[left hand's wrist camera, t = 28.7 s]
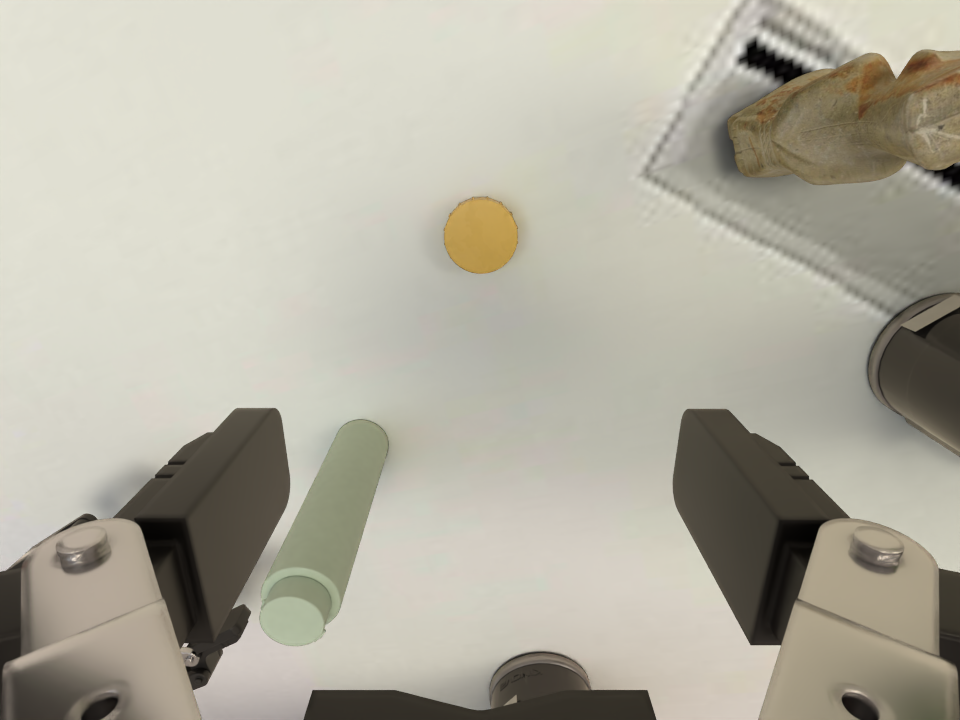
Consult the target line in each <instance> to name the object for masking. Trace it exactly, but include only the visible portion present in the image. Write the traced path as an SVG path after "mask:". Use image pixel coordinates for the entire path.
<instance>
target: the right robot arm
mask: <svg viewBox="0 0 960 720" xmlns="http://www.w3.org/2000/svg"><path fill="white" fill-rule="evenodd" d="M95 520H98V519H97V518H96V517H95V516H93V515H91V514H83V515H82V516H80V517H79V518H77V519H75V520H74V521H72V522H71V523H69V524H68V525H66V526H65V527H63V528H61V529H60V530H58V531H57V532H55V533H54V534H52V535H51V536H49V537H47V538H46V539H44V540H43V541H41V542H40V543H38V544H37V545H35V546H33V547H32V548H31V549H30V550H29V551H28V552H27V553H25V554H24V555H23V556H22V557H21V558H20V559H19V560H17V561H16V562H15V563H14V564H13V565H12V566H11V567H10V568H9V569H7V570H12V569H17V568H22V565H23V563H24V561H25V559H26V558H27V557H28V555H29V554H30V553H31V552H32V551H33V550H34V549H35V548H36V547H38V546H39V545H40V544H42V543H43V542H44V541H46V540H47V539H49V538H51V537H52V536H54V535H56V534H58V533H60V532H62V531H64V530H67V529H69V528H71V527H74V526H77V525H80V524H83V523H86V522H90V521H95ZM7 570H6V571H7ZM250 614H251V611H250V610H249V609H248V608H247V607H246V606H245V605H244V604H243V605H240V606H238V607H236V608H234V609H232V610H231V612H230V613H229V615H228V617H227V619H226V621H225V623H224V625H223V627H222V628H221V630H220V632H219V634H218V636H217V638H216V640H215V642H214V643H189V644H188V646H187V647H181V649H180V651H181V654H182V657H183V661H184V664H185V667H186V670H187V673H188V677H189V680H190V683H191V686H192V690H195V689H197V688H200V687H203V686H205V685H206V684H207V683H208V681H209V679H210V677H211V675H212V673H213V671H214V669H215V667H216V665H217V663H218V662H219V660H220V658H221V656H222V654H223V650H222V649H223V648H225V647H227V646H229V645H232V644H234V643H236V642H237V641H238V640H239V639H240V637H241V635H242V633H243V631H244V629H245V627H246V625H247V623H248V618H249V616H250ZM564 690H591V688H590V683H589V679H588V677H587V675H586V673H585V672H584V670H583V669H582V668H581V667H580V666H579V665H578V664H576V663H575V662H573V661H571V660H570V659H568V658H565V657H562V656H559V655H555V654H548V653H535V654H529V655H524V656H521V657H518V658H515V659H513V660H511V661H509V662H508V663H506V664H505V665H503V666H502V667H501V668H500V669H499V670H498V671H497V672H496V674H495V675H494V677H493V679H492V681H491V684H490V706H491V709H493V708H497V707H501V706H505V705H509V704H513V703H517V702H521V701H524V700H528V699H532V698H536V697H540V696H544V695H548V694H552V693H556V692H560V691H564Z"/></svg>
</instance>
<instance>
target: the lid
mask: <svg viewBox="0 0 960 720" xmlns="http://www.w3.org/2000/svg"><path fill="white" fill-rule="evenodd" d="M517 229H518V227H517V225H516V224H515V222H514V219H513V217H512V213H511V212H509V211H508V210H507V208H506V207H505V206H503V205H502V202H500V203H499V202H498V201H496V200H493V199H490V198H488V197H486V198H485V197H477V198H474V197H472V199H469V200H466V201H464V202H462V203H459V205H458V206H457V207H456V208H455V209H454V211H453V212H452V213H450V214H449V219H448V221H447V224H446V227H445V228H444V231H445V233H444V240H445V243H444V245H445V246H446V249H447V252H448V254H449V256H450V258H451V259H452V260H453V261H454V262H455V263H456V264H457V265H458V266H459V267H461V268H462V269H464V270H466V271H469V272H472V273H479V274H483V273H490V272H493V271H496V270H498V269H499V268H501V267H503V266H504V265H505V264H506V263H507V262H508V261H509V260H510V258H511V257H512V255H513V253H514V251H515V249H516V245H517V244H518V241H517V238H518V235H517Z"/></svg>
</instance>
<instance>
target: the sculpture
mask: <svg viewBox="0 0 960 720" xmlns="http://www.w3.org/2000/svg"><path fill="white" fill-rule="evenodd" d="M727 126H728V133H729V137H730V139H731V140H733V144H734V149H735V153H736V154H735V161H736V164H737V167H738V170H739V171H740V172H741V173H743V174H744V175H745V176H747V177H777V176H784V175H789V174H795V175H797V176H798V177H800V178H802V179H803V180H805V181H806V182H808V183H810V184H814V185H832V184H844V183H861V182H870V181H876V180H880V179H884V178H886V177H889V176H891V175H892V174H894V173H896V172H897V171H899V170H900V169H901V168H902V167H903V166H904V164H905V163H906V161H910V162H913V163H915V164H917V165H920V166H922V167H923V168H925V169H928V170H941V169H944V168H947V167H949V166H951V165H952V164H953V163H957V162H960V51H935V50H921V51H919V52H917V53H916V54H915V55H913V56H912V58H911V59H910V60H909V62H908V63H907V65H906V66H905V68H904V69H903V71H902V72H901V74H900V75H899V77H898V78H897V79H896V78H895V76H894V74H893V72H892V70H891V68H890V66H889V64H888V62H887V61H886V59H885V58H884V57H883V56H882V55H880V54H877V53H868V54H865V55H862V56H860V57H858V58H856V59H854V60H852V61H850V62H848V63H846V64H844V65H842V66H840V67H838V68H837V69H821V70H816V71H813V72H810V73H807V74H804V75H802V76H800V77H797V78H795V79H793V80H791V81H789V82H788V83H786V84H784V85H782V86H781V87H779V88H777V89H776V90H774V91H773V92H771V93H769V94H768V95H766V96H765V97H763V98H761V99H760V100H758V101H757V102H755V103H753V104H752V105H750V106H748V107H746V108H745V109H743V110H741V111H740V112H738V113H736V114H734V115H733V116H731V117H730V118H729V119H728V122H727Z"/></svg>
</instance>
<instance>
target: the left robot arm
mask: <svg viewBox="0 0 960 720" xmlns="http://www.w3.org/2000/svg"><path fill="white" fill-rule="evenodd" d="M868 374H869V381H870V385H871V388H872V390H873V392H874V394H875V396H876V397H877V398H878V399H879V400H880V402H881V403H883V404H884V405H885V406H886V407H888V408H890V409H891V410H893V411H894V412H896V413H897V414H899V415H901V416H904V417H905V419H906V422H907V423H908V424H910V425H911V426H913V427H914V428H916V429H918V430H919V431H921V432H922V433H924V434H925V435H927V436H928V437H930V438H931V439H933V440H934V441H936V442H937V443H939V444H941V445H942V446H944V447H945V448H947V449H948V450H950V451H951V452H953V453H954V454H956V455H957V456H959V457H960V293H951V294H942V295H937V296H933V297H930V298H927V299H925V300H922V301H920V302H918V303H916V304H914V305H912V306H911V307H909V308H907V309H906V310H905V311H903V312H902V313H900V314H899V315H898V316H897V317H896V318H895V319H894V320H893V321H892V322H891V323H890V324H889V325H888V326H887V327H886V328H885V329H884V331H883V332H882V333H881V335H880V337H879V338H878V340H877V342H876V344H875V345H874V348H873V350H872V353H871V356H870V361H869V368H868ZM289 493H290V474H289V467H288V460H287V453H286V446H285V439H284V432H283V425H282V419H281V415H280V413H279V411H278V410H277V409H276V408H237V409H235V410H234V411H233V412H232V413H231V414H230V415H229V416H228V417H227V418H226V419H225V420H224V421H223V422H222V424H221V425H220V426H219V427H218V428H217V429H216V430H215V431H214V432H213V433H206V434H204V435H202V436H201V437H199V438H197V439H195V440H193V441H192V442H190V443H188V444H186V445H185V446H183V447H182V448H181V449H180V450H179V451H178V452H177V453H176V454H175V455H174V456H173V457H172V458H171V459H170V460H169V461H168V465H165V466H164V467H163V468H162V469H161V470H160V471H159V472H158V473H157V474H156V475H155V478H152V479H151V480H150V481H149V482H148V483H147V484H146V485H145V486H144V487H143V488H142V489H141V490H140V491H139V492H138V493H137V494H136V495H135V496H134V497H133V498H132V499H131V500H130V501H129V502H128V503H127V504H126V505H125V506H124V507H123V508H122V509H121V510H120V511H119V512H118V513H117V514H116V515H115V516H114V517H113V518H108V519H100V520H95V521H90V522H86V523H83V524H80V525H77V526H74V527H71V528H69V529H67V530H64V531H62V532H60V533H58V534H56V535H54V536H52V537H51V538H49V539H47V540H46V541H44V542H43V543H42V544H40V545H39V546H38V547H36V548H35V549H34V550H33V551H32V552H31V553H30V554H29V555H28V557H27V558H26V559H25V561H24V563H23V565H22V568H17V569H12V570H7V571H2V572H0V720H202V719H201V715H200V712H199V709H198V706H197V702H196V699H195V696H194V693H193V690H192V686H191V683H190V680H189V677H188V673H187V670H186V667H185V664H184V661H183V657H182V654H181V651H180V649H181V647H182V646H183V644H184V643H214V642H215V640H216V638H217V636H218V634H219V632H220V630H221V628H222V627H223V625H224V623H225V621H226V619H227V617H228V615H229V613H230V612H231V610H232V608H233V606H234V604H235V602H236V600H237V598H238V597H239V595H240V593H241V591H242V589H243V587H244V585H245V583H246V582H247V580H248V578H249V576H250V574H251V572H252V570H253V568H254V567H255V565H256V563H257V561H258V559H259V557H260V555H261V553H262V552H263V550H264V548H265V546H266V544H267V542H268V540H269V539H270V537H271V535H272V533H273V531H274V529H275V527H276V525H277V524H278V522H279V520H280V518H281V516H282V514H283V512H284V510H285V508H286V506H287V503H288V499H289ZM673 494H674V500H675V504H676V507H677V509H678V512H679V513H680V515H681V517H682V519H683V521H684V523H685V524H686V526H687V528H688V530H689V532H690V534H691V536H692V537H693V539H694V541H695V543H696V545H697V547H698V549H699V550H700V552H701V554H702V556H703V558H704V560H705V561H706V563H707V565H708V567H709V569H710V571H711V573H712V574H713V576H714V578H715V580H716V582H717V584H718V586H719V587H720V589H721V591H722V593H723V595H724V597H725V598H726V600H727V602H728V604H729V606H730V608H731V610H732V611H733V613H734V615H735V617H736V619H737V621H738V623H739V624H740V626H741V628H742V630H743V632H744V634H745V636H746V637H747V639H748V641H749V643H750V645H781V648H780V651H779V654H778V657H777V661H776V664H775V667H774V670H773V673H772V677H771V680H770V683H769V686H768V690H767V693H766V696H765V699H764V702H763V706H762V709H761V712H760V715H759V719H758V720H960V573H958V572H953V571H948V570H943V569H939V568H938V565H937V563H936V561H935V559H934V558H933V557H932V555H931V554H930V553H929V552H928V551H927V550H926V549H925V548H924V547H922V546H921V545H920V544H918V543H917V542H916V541H914V540H913V539H911V538H909V537H908V536H906V535H904V534H902V533H900V532H898V531H896V530H893V529H891V528H889V527H886V526H883V525H880V524H877V523H874V522H870V521H865V520H860V519H852V518H850V517H849V516H848V515H847V514H846V513H845V512H844V511H843V510H842V509H841V508H840V507H839V506H838V505H837V504H836V503H835V502H834V501H833V500H832V499H831V498H830V497H829V496H828V495H827V494H826V493H825V492H824V491H823V490H822V489H821V488H820V487H819V486H818V485H817V484H816V483H815V482H814V481H813V480H809V476H808V475H807V474H806V473H805V472H804V471H803V470H802V469H801V468H800V467H799V466H796V463H795V462H794V461H793V460H792V459H791V458H790V457H789V456H788V455H787V454H786V453H785V452H784V451H783V450H782V448H781V447H779V446H777V445H776V444H774V443H772V442H770V441H768V440H767V439H765V438H763V437H761V436H760V435H758V434H756V433H750V432H749V431H748V430H747V429H746V428H745V427H744V426H743V425H742V424H741V423H740V422H739V421H738V420H737V418H736V417H735V416H734V415H733V414H732V413H731V412H730V411H729V410H727V409H687V410H686V411H685V412H684V414H683V416H682V420H681V426H680V433H679V440H678V447H677V454H676V461H675V468H674V474H673ZM304 720H656V717H655V714H654V710H653V707H652V704H651V700H650V697H649V694H648V691H647V690H564V691H560V692H556V693H552V694H548V695H544V696H540V697H536V698H532V699H528V700H524V701H521V702H517V703H513V704H509V705H505V706H501V707H497V708H493V709H489V710H471V709H467V708H463V707H459V706H455V705H451V704H447V703H443V702H439V701H436V700H432V699H428V698H424V697H420V696H416V695H412V694H408V693H404V692H400V691H396V690H313V691H312V694H311V697H310V700H309V704H308V707H307V710H306V714H305V717H304Z"/></svg>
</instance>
